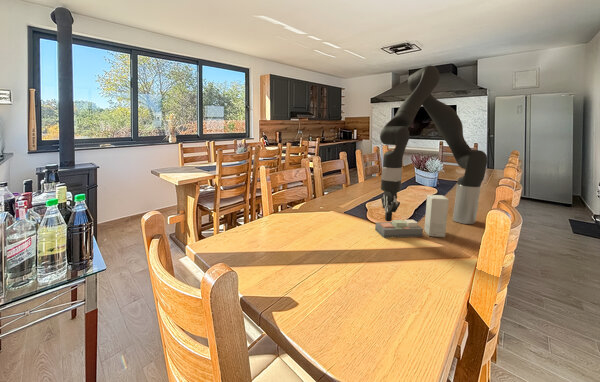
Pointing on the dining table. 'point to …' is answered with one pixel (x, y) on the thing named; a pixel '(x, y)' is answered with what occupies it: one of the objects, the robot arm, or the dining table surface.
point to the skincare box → (436, 215)
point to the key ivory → (411, 223)
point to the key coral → (386, 225)
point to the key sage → (398, 223)
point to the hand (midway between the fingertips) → (388, 220)
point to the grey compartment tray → (398, 231)
